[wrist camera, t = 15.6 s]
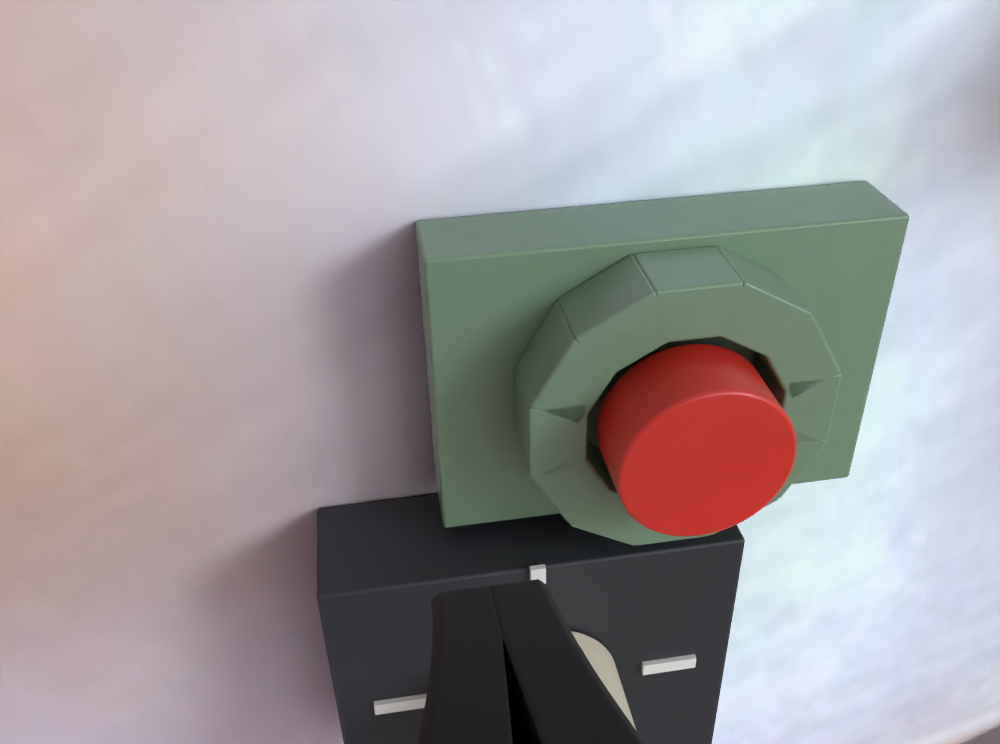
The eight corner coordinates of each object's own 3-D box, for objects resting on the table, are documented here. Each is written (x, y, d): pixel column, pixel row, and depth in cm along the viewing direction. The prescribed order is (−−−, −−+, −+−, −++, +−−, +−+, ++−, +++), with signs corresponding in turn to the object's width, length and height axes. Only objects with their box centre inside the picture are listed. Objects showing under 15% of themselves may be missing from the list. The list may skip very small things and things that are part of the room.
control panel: (352, 713, 28) (355, 812, 26) (315, 504, 24) (315, 599, 21) (678, 664, 29) (713, 754, 27) (704, 457, 25) (749, 541, 22)
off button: (592, 492, 21) (613, 549, 19) (598, 351, 19) (621, 403, 17) (752, 472, 21) (783, 526, 20) (774, 332, 19) (812, 381, 18)
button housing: (435, 477, 24) (451, 579, 21) (414, 219, 20) (430, 301, 17) (815, 431, 25) (881, 522, 22) (867, 179, 21) (954, 249, 18)
